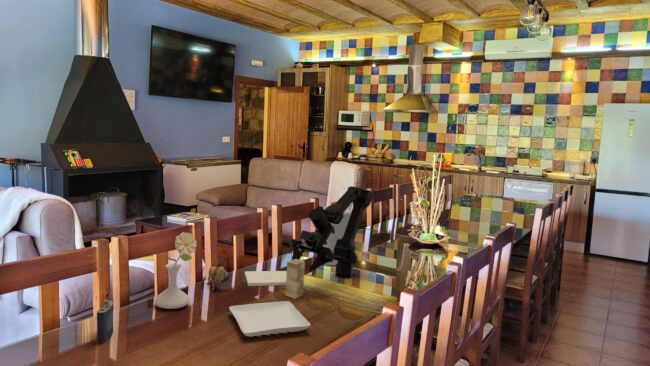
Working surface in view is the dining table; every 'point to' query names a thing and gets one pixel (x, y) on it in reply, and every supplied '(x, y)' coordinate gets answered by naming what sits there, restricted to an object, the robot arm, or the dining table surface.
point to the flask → (105, 322)
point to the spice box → (295, 278)
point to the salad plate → (268, 318)
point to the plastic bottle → (337, 233)
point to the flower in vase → (173, 294)
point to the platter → (265, 278)
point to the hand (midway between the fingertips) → (300, 268)
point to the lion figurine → (216, 276)
